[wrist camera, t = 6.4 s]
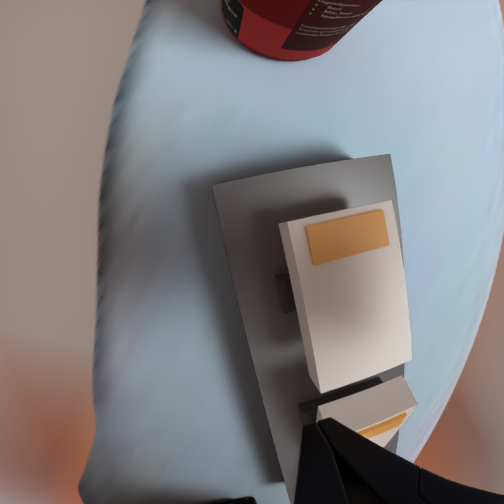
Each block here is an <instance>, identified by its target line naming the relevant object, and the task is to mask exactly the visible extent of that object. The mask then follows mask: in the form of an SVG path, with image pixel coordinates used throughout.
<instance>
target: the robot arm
mask: <svg viewBox="0 0 504 504" xmlns="http://www.w3.org/2000/svg"><path fill="white" fill-rule="evenodd" d="M215 504H257V502H256V500H255V499H254V498H247V499H241V500H236V501H229V502H223V503H215ZM294 504H504V495H501V494H496V493H492V492H488V491H484V490H480V489H477V488H473V487H469V486H466V485H462V484H460V483H457V482H454V481H451V480H448V479H445V478H443V477H441V476H438V475H436V474H434V473H432V472H430V471H428V470H425V469H423V468H421V469H420V467H419V466H417V465H415V464H413V463H412V462H410V461H408V460H406V459H404V458H402V457H400V456H398V455H396V454H394V453H392V452H391V451H389V450H387V449H385V448H383V447H381V446H380V445H378V444H376V443H374V442H373V441H371V440H369V439H367V438H365V437H364V436H362V435H360V434H359V433H357V432H355V431H353V430H352V429H350V428H348V427H347V426H345V425H343V424H342V423H340V422H338V421H337V420H335V419H333V418H331V417H328V418H325V419H322V420H319V421H318V422H317V423H316V422H312V423H309V424H305V425H303V426H302V431H301V442H300V452H299V462H298V471H297V480H296V488H295V496H294Z"/></svg>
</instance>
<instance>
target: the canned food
mask: <svg viewBox="0 0 504 504" xmlns="http://www.w3.org/2000/svg"><path fill="white" fill-rule="evenodd" d="M381 1H382V0H221V13H222V15H223V18H224V21H225V23H226V25H227V26H228V28H229V29H230V31H231V32H232V34H233V35H234V36H235V37H236V38H237V39H238V40H239V42H241V43H242V44H243V45H245V46H246V47H247V48H249V49H251V50H252V51H254V52H256V53H258V54H260V55H263V56H266V57H269V58H272V59H277V60H282V61H298V60H306V59H310V58H313V57H317V56H320V55H322V54H323V53H325V52H327V51H329V50H330V49H331V48H332V47H333V46H334V45H335V44H336V43H337V42H338V41H339V40H340V39H341V38H342V37H343V36H344V35H345V34H346V33H347V32H349V31H350V30H351V29H352V28H353V27H354V26H355V25H356V24H357V23H358V22H359V21H360V20H361V19H362V18H363V17H364V16H366V15H367V14H368V13H369V12H370V11H371V10H372V9H373V8H374V7H375V6H377V5H378V4H379V3H380V2H381Z"/></svg>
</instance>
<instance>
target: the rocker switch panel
mask: <svg viewBox="0 0 504 504" xmlns="http://www.w3.org/2000/svg"><path fill="white" fill-rule="evenodd" d="M211 186H212V191H213V195H214V200H215V205H216V209H217V214H218V218H219V223H220V227H221V232H222V236H223V240H224V245H225V249H226V253H227V258H228V262H229V266H230V271H231V275H232V279H233V284H234V288H235V292H236V296H237V300H238V305H239V309H240V313H241V317H242V321H243V325H244V329H245V333H246V338H247V342H248V346H249V350H250V354H251V358H252V362H253V366H254V370H255V373H256V377H257V381H258V385H259V389H260V393H261V397H262V401H263V405H264V408H265V412H266V416H267V420H268V424H269V427H270V431H271V435H272V439H273V442H274V446H275V450H276V453H277V457H278V461H279V464H280V468H281V471H282V475H283V479H284V482H285V486H286V489H287V492H288V496H289V499H290V503H291V504H294V496H295V488H296V480H297V471H298V462H299V452H300V442H301V431H302V426H303V425H305V424H309V423H312V422H316V419H317V411H318V406H320V405H323V404H326V403H329V402H332V401H335V400H338V399H341V398H344V397H347V396H350V395H353V394H356V393H358V392H361V391H364V390H366V389H369V388H372V387H374V386H377V385H379V384H382V383H384V382H387V381H389V380H392V379H394V378H396V377H399V376H401V375H402V376H403V378H404V364H405V363H403V364H401V365H398V366H396V367H393V368H391V369H388V370H386V371H383V372H381V373H378V374H376V375H373V376H370V377H368V378H365V379H362V380H359V381H357V382H354V383H351V384H348V385H345V386H342V387H339V388H336V389H333V390H330V391H327V392H324V393H320V392H319V390H318V389H317V387H316V385H315V384H314V382H313V381H312V379H311V378H310V376H309V371H308V366H307V360H306V355H305V350H304V345H303V340H302V334H301V329H300V324H299V319H298V314H297V309H296V304H295V299H294V294H293V290H292V285H291V280H290V275H289V270H288V266H287V261H286V256H285V252H284V247H283V242H282V238H281V233H280V229H279V223H283V222H288V221H292V220H297V219H302V218H306V217H311V216H315V215H320V214H325V213H330V212H334V211H339V210H344V209H349V208H353V207H358V206H363V205H368V204H373V203H378V202H384V201H389V200H392V204H393V209H394V214H395V219H396V225H397V230H398V236H399V242H400V248H401V254H402V261H403V250H402V238H401V227H400V218H399V209H398V201H397V194H396V187H395V180H394V174H393V168H392V162H391V156H390V154H386V155H378V156H370V157H363V158H356V159H349V160H342V161H336V162H329V163H323V164H317V165H311V166H305V167H300V168H294V169H288V170H283V171H278V172H272V173H267V174H262V175H257V176H252V177H247V178H242V179H237V180H233V181H228V182H224V183H219V184H214V185H211ZM403 267H404V264H403ZM398 434H399V430H398V431H397V432H396V433H395V435H394V436H393V437H392V438H391V440H390V441H389V442H388V443H387V444H386V446H385V447H383V448H385V449H387V450H389V451H391V452H392V453H394V454H396V448H397V441H398Z"/></svg>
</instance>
